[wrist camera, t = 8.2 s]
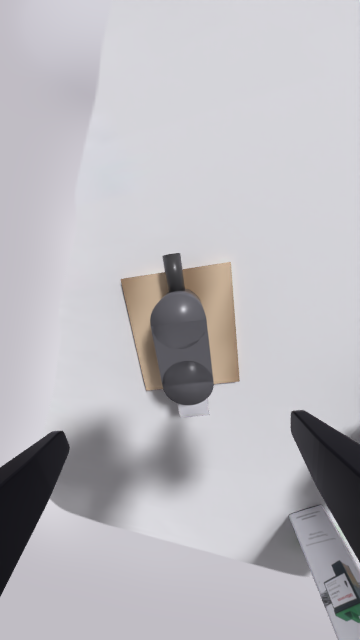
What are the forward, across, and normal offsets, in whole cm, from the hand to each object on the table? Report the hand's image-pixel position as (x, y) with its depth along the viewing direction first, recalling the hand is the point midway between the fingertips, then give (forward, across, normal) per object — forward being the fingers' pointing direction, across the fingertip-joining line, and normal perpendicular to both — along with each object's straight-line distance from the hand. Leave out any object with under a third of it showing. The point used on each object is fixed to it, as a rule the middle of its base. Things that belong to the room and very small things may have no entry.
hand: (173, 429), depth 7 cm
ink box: (+12, -14, +31) cm, 36 cm away
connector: (+11, 0, 0) cm, 11 cm away
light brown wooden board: (+12, 0, 0) cm, 12 cm away
